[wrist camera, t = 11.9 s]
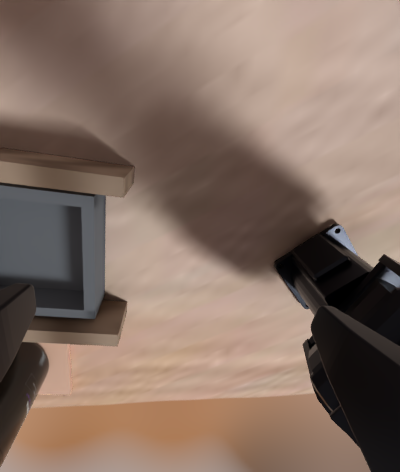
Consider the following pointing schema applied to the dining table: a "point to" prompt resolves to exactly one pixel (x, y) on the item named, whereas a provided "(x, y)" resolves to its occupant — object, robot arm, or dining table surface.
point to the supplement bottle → (20, 391)
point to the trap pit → (54, 248)
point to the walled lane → (79, 180)
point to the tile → (57, 370)
